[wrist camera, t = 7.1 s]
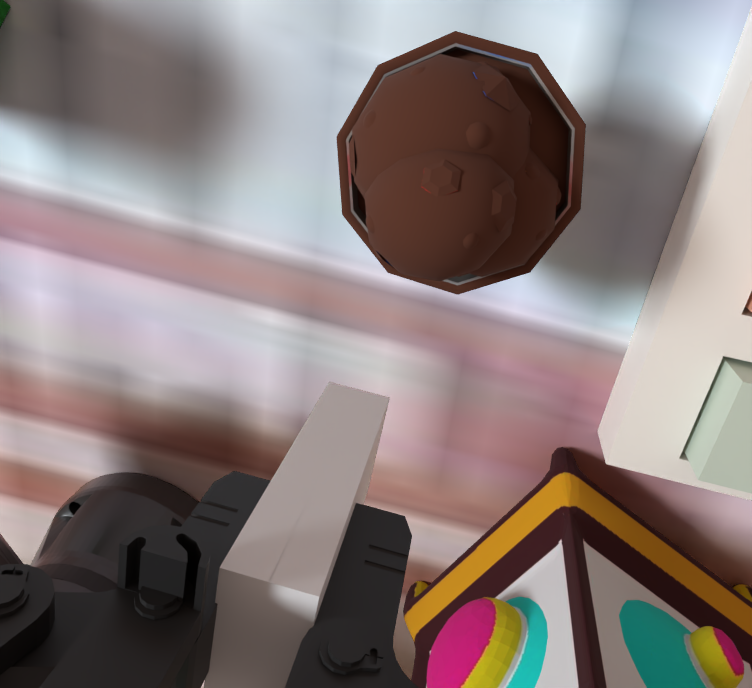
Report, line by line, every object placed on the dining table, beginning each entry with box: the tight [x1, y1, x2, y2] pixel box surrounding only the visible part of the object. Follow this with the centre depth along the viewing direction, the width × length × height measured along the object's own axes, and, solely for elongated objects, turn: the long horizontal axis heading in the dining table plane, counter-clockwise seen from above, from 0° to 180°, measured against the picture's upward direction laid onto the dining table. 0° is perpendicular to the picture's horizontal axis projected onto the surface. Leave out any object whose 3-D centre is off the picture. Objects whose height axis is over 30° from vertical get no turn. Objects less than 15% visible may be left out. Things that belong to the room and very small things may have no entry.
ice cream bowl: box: [337, 31, 586, 294], centre depth 29 cm, size 11×11×15 cm
